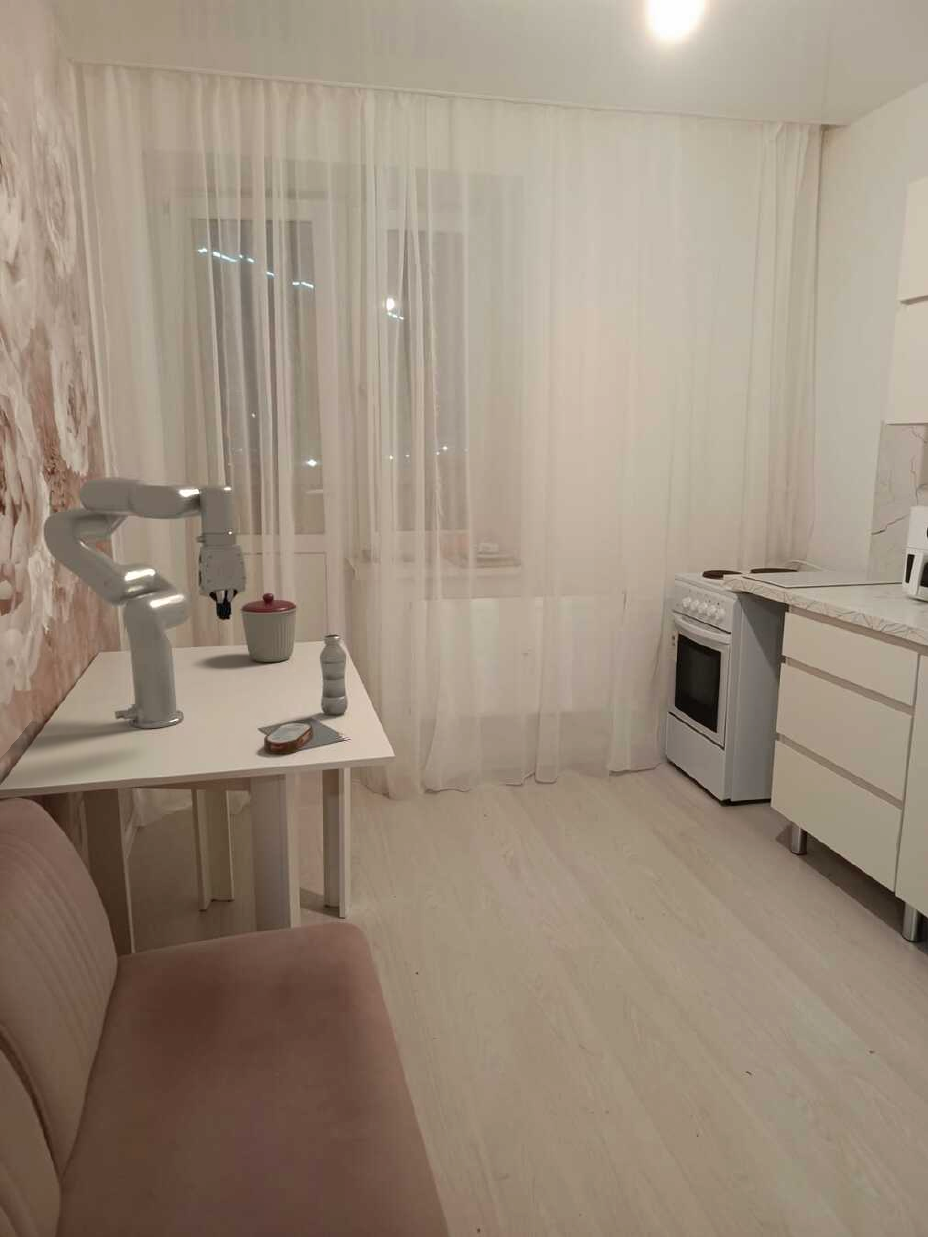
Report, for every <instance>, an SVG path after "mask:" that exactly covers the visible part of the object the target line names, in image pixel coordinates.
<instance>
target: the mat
mask: <svg viewBox="0 0 928 1237" xmlns="http://www.w3.org/2000/svg"><path fill="white" fill-rule="evenodd" d="M287 723H302V724H310V725H311V726H312V728H313V739H312V740H310V741H309V742H308V743H307V744H306V745H304V746H303V747H302V748H301V749H300V750H298V751H295V752H294V753H296V752H300V751H304V749H305V750H308V748H310V749H313V748H312V747H314V748H318V747H317V746H319V747H321V746H320V745H323V746H327V745H331V744H336V742H337V743H340V742H339V741H341V742H344V741H343V740H344V739H345V738H342V736H340V735H339V734H342V735H344V734H343V733H341V732H339V731H337V730H335V729H333V728H331V727H330V726H328V725H326V724H324V723H322V722H320V721H318V720H317V719H315V718H314V717H306V718H302V719H298V720H297V719H296V720H292V721H288V722H283V723H277V724H272V725H268V726H262V727H258V728H257V730H259V731H261V732H262V733H264V734H265V735H266V736H267V735H268V734H270V733H271V732H272V731H274V730H275V729H276V728H278V727H279V726H281V725H283V724H287ZM347 737H348V736H346V738H347ZM341 738H342V739H341Z"/></svg>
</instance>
